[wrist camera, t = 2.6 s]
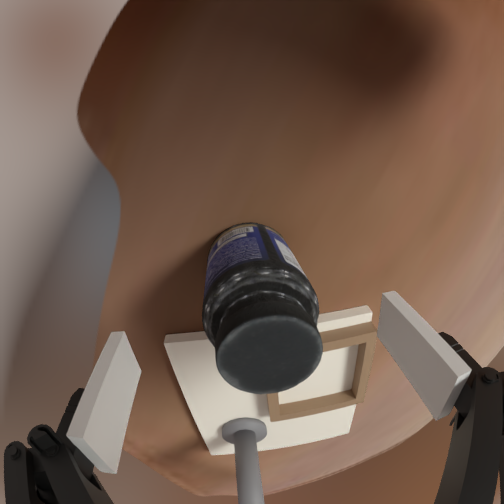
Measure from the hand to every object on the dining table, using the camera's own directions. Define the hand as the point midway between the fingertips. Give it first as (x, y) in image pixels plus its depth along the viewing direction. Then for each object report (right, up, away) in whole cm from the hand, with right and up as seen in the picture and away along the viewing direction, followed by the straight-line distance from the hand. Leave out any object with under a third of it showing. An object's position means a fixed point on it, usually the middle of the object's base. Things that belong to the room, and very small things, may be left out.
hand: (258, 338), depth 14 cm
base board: (+2, -11, +14) cm, 18 cm away
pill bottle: (-1, +4, +8) cm, 9 cm away
